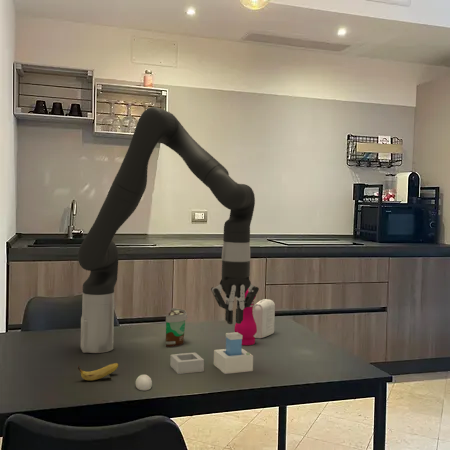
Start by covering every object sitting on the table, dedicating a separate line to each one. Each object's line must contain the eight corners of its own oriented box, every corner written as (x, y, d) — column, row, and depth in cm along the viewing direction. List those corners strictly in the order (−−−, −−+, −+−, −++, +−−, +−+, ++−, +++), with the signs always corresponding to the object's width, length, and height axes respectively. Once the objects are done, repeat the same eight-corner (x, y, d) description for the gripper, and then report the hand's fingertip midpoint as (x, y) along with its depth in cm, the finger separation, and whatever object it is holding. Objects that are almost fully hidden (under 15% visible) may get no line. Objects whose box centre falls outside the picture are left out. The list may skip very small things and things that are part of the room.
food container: (185, 348, 162) (185, 316, 162) (165, 348, 162) (165, 315, 162) (188, 338, 175) (189, 308, 174) (170, 337, 175) (170, 307, 174)
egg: (149, 386, 129) (150, 370, 129) (153, 395, 123) (153, 378, 123) (134, 387, 128) (134, 371, 128) (137, 396, 122) (137, 380, 122)
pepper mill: (261, 343, 171) (262, 281, 170) (246, 347, 166) (248, 283, 165) (244, 338, 176) (245, 278, 175) (229, 342, 171) (231, 280, 170)
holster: (177, 377, 136) (178, 362, 136) (170, 369, 142) (170, 354, 142) (203, 374, 138) (204, 359, 138) (194, 366, 145) (195, 352, 145)
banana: (117, 376, 135) (118, 361, 135) (118, 380, 133) (119, 364, 133) (76, 379, 132) (77, 364, 132) (77, 383, 130) (77, 367, 130)
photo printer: (264, 331, 187) (265, 296, 186) (275, 333, 184) (276, 298, 184) (250, 337, 178) (251, 301, 177) (261, 339, 176) (263, 302, 175)
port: (224, 377, 137) (225, 356, 137) (213, 368, 144) (214, 348, 144) (252, 374, 140) (253, 354, 140) (240, 365, 147) (240, 346, 147)
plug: (229, 370, 140) (230, 336, 139) (224, 366, 143) (225, 333, 142) (241, 369, 141) (242, 335, 141) (236, 365, 144) (237, 332, 144)
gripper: (217, 260, 135) (215, 328, 135) (265, 260, 140) (263, 325, 141) (206, 257, 142) (205, 321, 142) (253, 256, 147) (251, 318, 148)
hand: (234, 323), depth 141 cm, fingers closed
